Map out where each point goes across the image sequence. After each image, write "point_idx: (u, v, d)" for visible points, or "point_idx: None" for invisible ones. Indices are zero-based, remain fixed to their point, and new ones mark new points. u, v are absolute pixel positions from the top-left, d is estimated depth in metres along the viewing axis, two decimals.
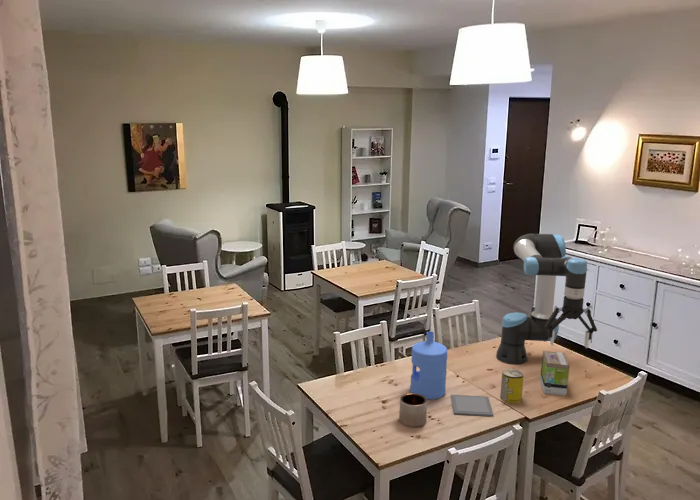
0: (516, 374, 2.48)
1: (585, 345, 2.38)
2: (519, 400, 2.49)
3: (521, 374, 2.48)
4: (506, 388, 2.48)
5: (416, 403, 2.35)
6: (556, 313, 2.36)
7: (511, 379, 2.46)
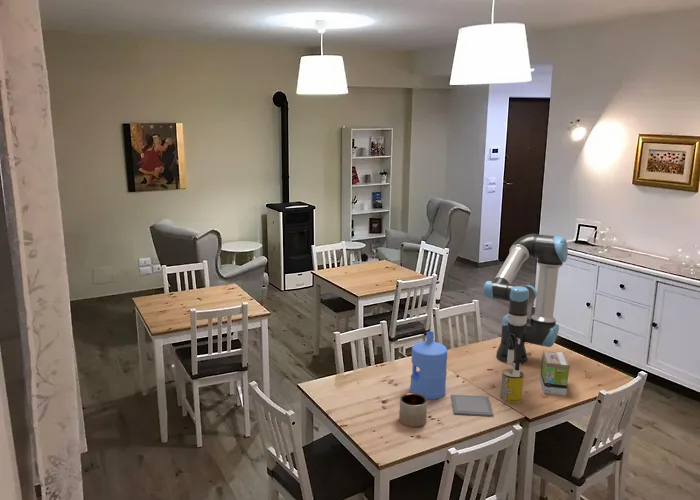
0: None
1: None
2: (519, 400, 2.49)
3: (521, 374, 2.48)
4: (506, 388, 2.48)
5: (416, 403, 2.35)
6: (509, 333, 2.52)
7: (511, 379, 2.46)
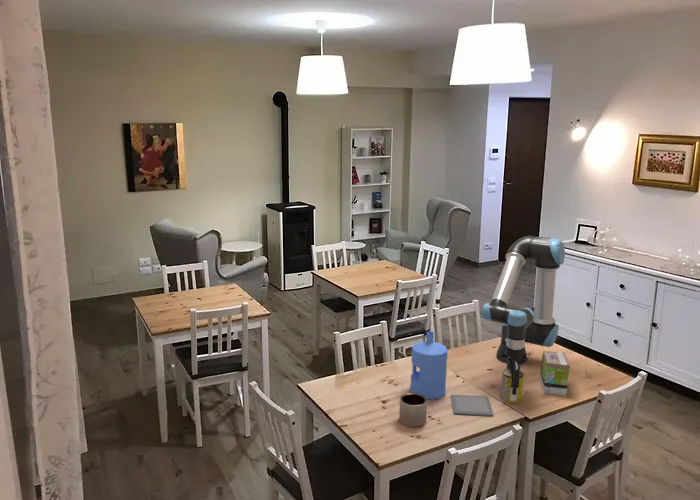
0: None
1: None
2: (519, 400, 2.49)
3: (521, 374, 2.48)
4: (506, 388, 2.48)
5: (416, 403, 2.35)
6: (508, 358, 2.55)
7: (511, 379, 2.46)
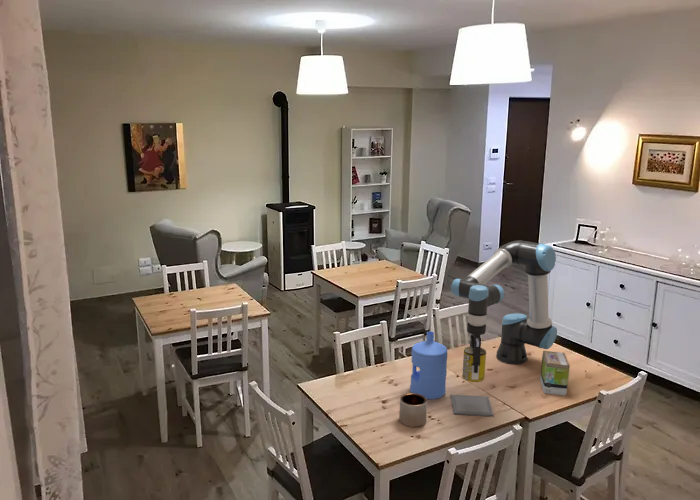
0: None
1: None
2: (481, 379, 2.39)
3: (483, 352, 2.38)
4: (467, 366, 2.38)
5: (416, 403, 2.35)
6: None
7: (472, 357, 2.36)
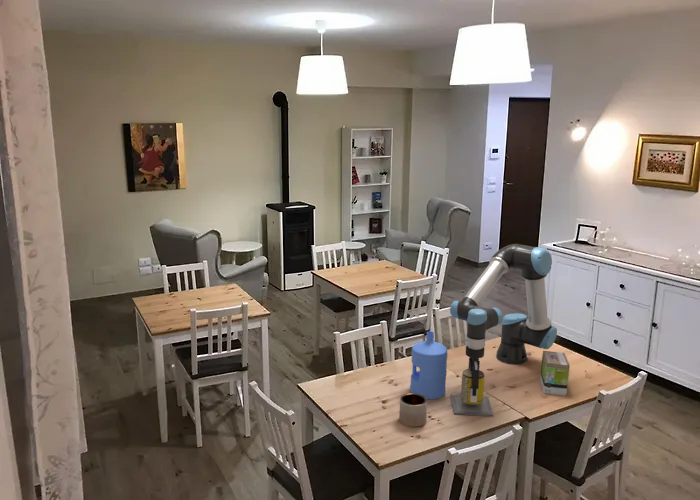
0: None
1: None
2: (480, 401, 2.41)
3: (482, 374, 2.40)
4: (466, 389, 2.40)
5: (416, 403, 2.35)
6: (469, 358, 2.47)
7: (471, 379, 2.38)
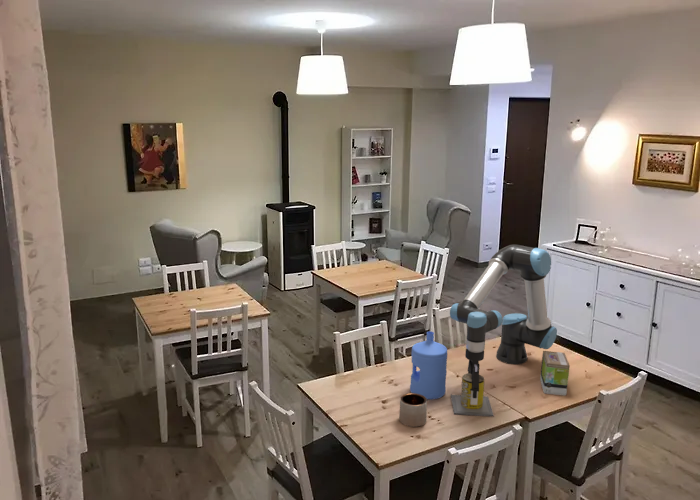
0: None
1: None
2: (479, 406, 2.41)
3: (481, 379, 2.41)
4: (466, 394, 2.41)
5: (416, 403, 2.35)
6: None
7: (471, 384, 2.39)
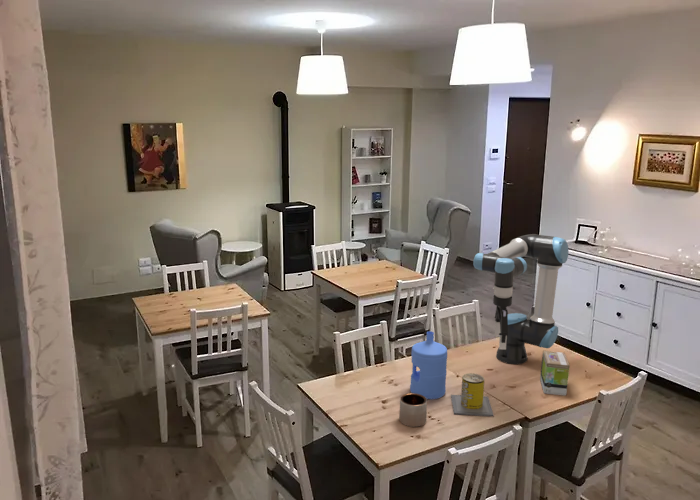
0: (476, 379, 2.41)
1: None
2: (479, 406, 2.41)
3: (481, 379, 2.41)
4: (466, 394, 2.41)
5: (416, 403, 2.35)
6: None
7: (471, 384, 2.39)
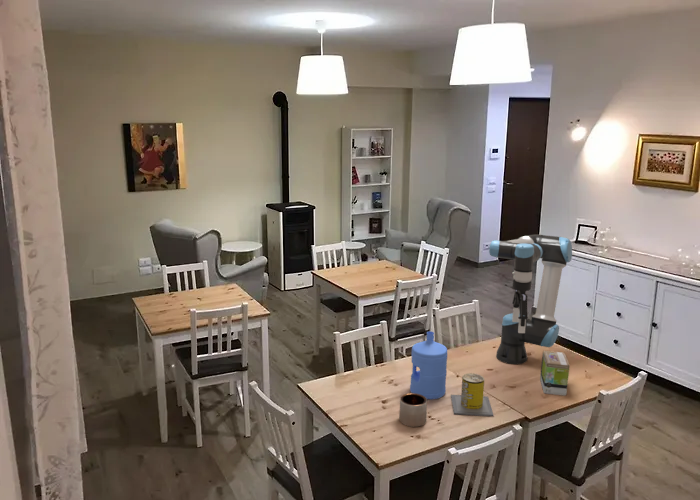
0: (476, 379, 2.41)
1: None
2: (479, 406, 2.41)
3: (481, 379, 2.41)
4: (466, 394, 2.41)
5: (416, 403, 2.35)
6: (515, 291, 2.54)
7: (471, 384, 2.39)
